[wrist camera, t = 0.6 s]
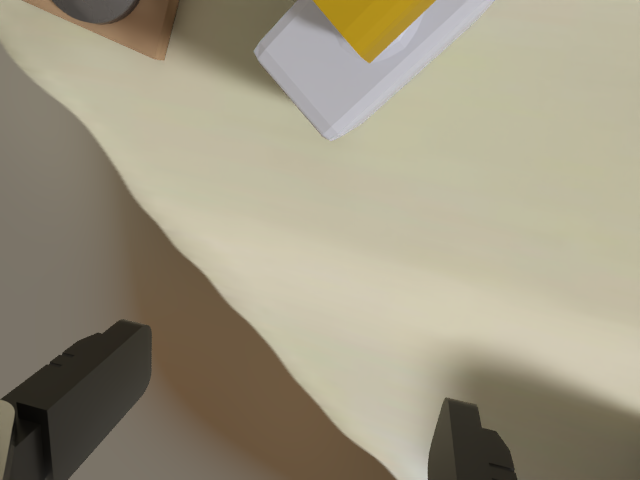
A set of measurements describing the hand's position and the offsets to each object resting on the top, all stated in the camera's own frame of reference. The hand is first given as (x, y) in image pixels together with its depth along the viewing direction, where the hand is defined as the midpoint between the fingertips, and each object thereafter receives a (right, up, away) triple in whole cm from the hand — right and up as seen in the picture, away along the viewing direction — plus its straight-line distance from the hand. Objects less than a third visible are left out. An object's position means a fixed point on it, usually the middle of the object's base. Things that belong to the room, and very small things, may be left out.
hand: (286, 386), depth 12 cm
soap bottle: (+6, +19, +22) cm, 30 cm away
